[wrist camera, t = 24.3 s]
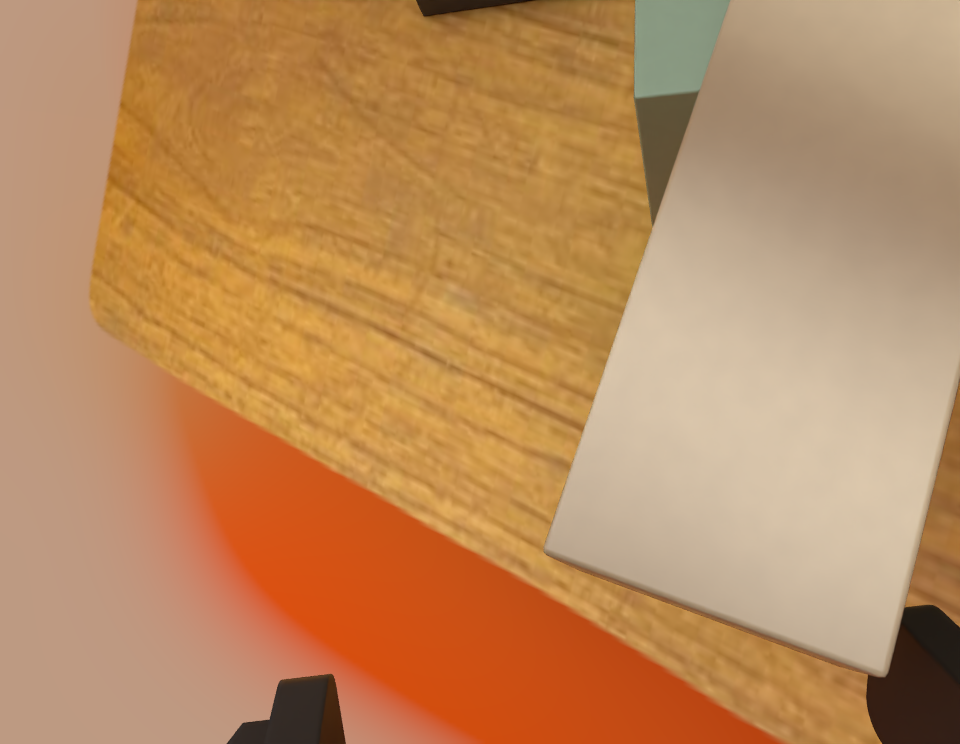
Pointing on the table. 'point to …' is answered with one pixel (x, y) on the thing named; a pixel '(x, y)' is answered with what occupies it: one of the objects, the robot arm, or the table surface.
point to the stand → (457, 5)
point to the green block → (669, 78)
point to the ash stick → (788, 336)
